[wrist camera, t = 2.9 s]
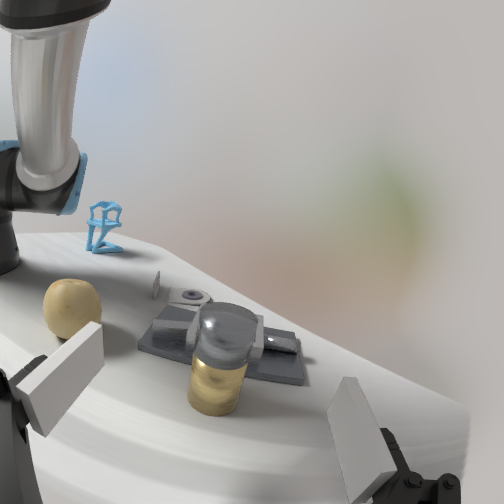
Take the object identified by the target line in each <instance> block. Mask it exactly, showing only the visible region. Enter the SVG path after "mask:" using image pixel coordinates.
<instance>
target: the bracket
mask: <svg viewBox="0 0 504 504" xmlns="http://www.w3.org/2000/svg"><path fill="white" fill-rule="evenodd" d="M159 281H160V271H158V273H157V276H156V278H155V281H154V300H155V298H156V295H157V292H158V289H159ZM168 297H169V300H166V302H171V303H178V304H187V305H201V304H202V303H207V302H209V301H210V295H209V294H208V293H206V292H204V291H201V290H196V289H185V288H172V287H171V288H170V291H169V294H168Z"/></svg>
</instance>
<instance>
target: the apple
mask: <svg viewBox="0 0 504 504" xmlns="http://www.w3.org/2000/svg"><path fill="white" fill-rule="evenodd" d="M43 312H44V317H45V320H46V323H47V325H48V327H49V329H50V330H51V331H52V332H53V333H54V334H55V335H56V336H58V337H60V338H63V339H67V340H69V339H70V338H71V337H72V336H74V335H75V334H76V333H77V332H78V331H80V330H81V329H82V328H83V327H84V326H86V325H87V324H88V323H89V322H91V321H92V322H95V323H98V324H100V321H101V315H102V310H101V303H100V300H99V297H98V294H97V292H96V290H95V288H94V287H93V286H92V285H91V284H90V283H89V282H87V281H83V280H78V279H61V280H57V281H55V282H53V283H52V284H51V285H50V286H49V288H48V290H47V291H46V294H45V297H44V302H43Z"/></svg>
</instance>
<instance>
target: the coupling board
mask: <svg viewBox="0 0 504 504" xmlns="http://www.w3.org/2000/svg"><path fill="white" fill-rule="evenodd" d="M205 304H207V303H202V304H201V305H200V307H199V309H198V311H197V312H194V311H190V310H186V309H182V308H178V307H174V306H170V305H167V306H166V307H165V309H164V310H163V311H162V313H161V314H160V315H159V316H158V318H157V319H153V324H152V325H151V327H150V328H149V329H148V330H147V332H146V333H145V334H144V336H143V337H142V338H141V340H140V341H139V342H138V350H141V351H144V352H147V353H151V354H154V355H157V356H161V357H164V358H168V359H171V360H175V361H179V362H182V363H186V364H190V365H192V360H193V352H194V345H195V339H196V332H197V325H198V319H199V313H200V308H201V307H202V306H203V305H205ZM255 315H256V316H257V318H258V325H257V329H256V333H255V337H254V341H253V345H252V349H251V352H250V356H249V360H248V364H247V368H246V371H245V375H244V377H250V378H255V379H261V380H267V381H273V382H280V383H287V384H294V385H302V384H303V381H304V375H303V370H302V366H301V361H300V356H299V350H300V345H301V342H300V341H298V340H296V338H295V333H294V332H289V331H283V330H278V329H273V328H267V327H263V316H262V315H257V314H255Z"/></svg>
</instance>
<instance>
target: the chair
mask: <svg viewBox="0 0 504 504" xmlns="http://www.w3.org/2000/svg"><path fill="white" fill-rule="evenodd" d="M98 206H101V207H103V208H105V209H104V210H102V219H93V218H94V213H93V209H94V208H96V207H98ZM112 210H115V211H117V212H118V214H117V215H116V218H115V220H116V222H115V221H112V220H109V219H107V212H109V211H112ZM121 211H122V208H121V207H120V206H119V205H118V204H117V203H115V202H113V201H110V202H105V201H102V202H98V203H95V204H94V205H92V206H90V212H91V217H90V219H89V220H87V224H89V232H88V239H87V246H86V250H87V251H89V250H92V253H108V252H122V250H123V248H121V247H119V246H116V245H114V244H111V243H109V242H106V241H102V240H103V238H104V237H105V235H106V234H107V233H108V231H110V230H111V229H113V228H115V227H121V225H122V223H119V215H120V213H121ZM96 226H97V227H99V228H101V229H102V232H101V234H100V236H99V238H98V240H97V242H96V243H95V244H92V237H93V232H94V228H95V227H96ZM101 245H107V246H109V247H111V248H98V247H99V246H101Z"/></svg>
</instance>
